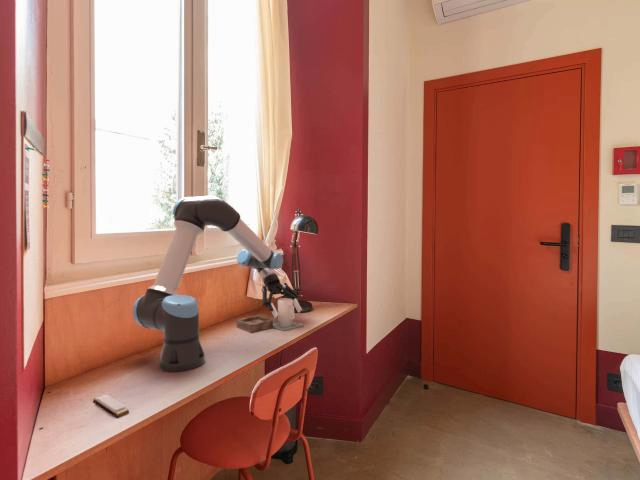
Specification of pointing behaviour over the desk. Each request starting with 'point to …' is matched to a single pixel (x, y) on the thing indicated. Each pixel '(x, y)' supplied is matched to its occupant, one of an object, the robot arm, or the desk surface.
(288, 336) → the desk surface
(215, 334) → the desk surface
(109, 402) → the harmonica
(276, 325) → the mat
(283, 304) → the white rounded piece
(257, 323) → the holder
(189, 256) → the robot arm
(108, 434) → the desk surface
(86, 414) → the desk surface
